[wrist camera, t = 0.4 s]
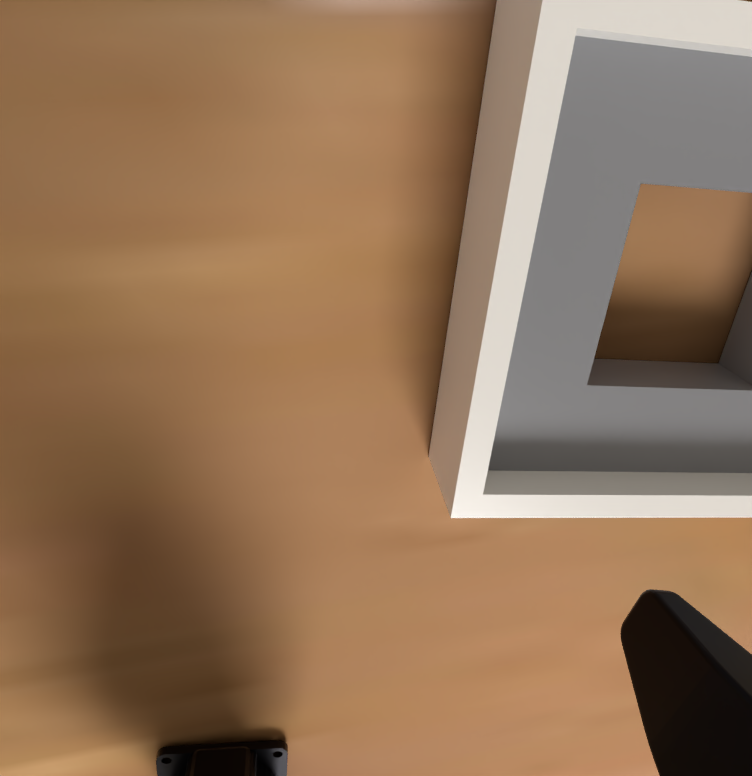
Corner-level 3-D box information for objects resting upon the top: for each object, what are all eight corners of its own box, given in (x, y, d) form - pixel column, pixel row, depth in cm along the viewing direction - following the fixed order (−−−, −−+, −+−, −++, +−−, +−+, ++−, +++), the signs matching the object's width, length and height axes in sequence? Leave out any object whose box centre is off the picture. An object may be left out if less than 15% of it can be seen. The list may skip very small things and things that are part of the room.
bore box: (777, 460, 27) (850, 517, 24) (428, 456, 25) (450, 517, 21) (957, 56, 20) (1098, 48, 17) (497, -3, 18) (547, -26, 14)
